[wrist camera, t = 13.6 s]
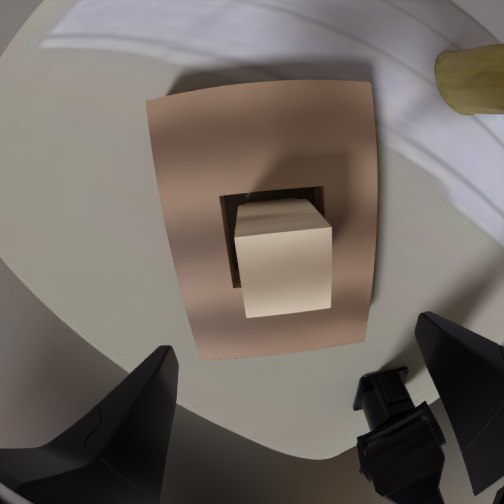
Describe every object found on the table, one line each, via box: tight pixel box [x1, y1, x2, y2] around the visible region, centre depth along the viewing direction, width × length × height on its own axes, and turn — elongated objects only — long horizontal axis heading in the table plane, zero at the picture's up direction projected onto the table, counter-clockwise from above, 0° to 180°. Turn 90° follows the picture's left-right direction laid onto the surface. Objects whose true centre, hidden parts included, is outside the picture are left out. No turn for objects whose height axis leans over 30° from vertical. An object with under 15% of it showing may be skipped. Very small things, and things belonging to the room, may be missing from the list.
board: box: [146, 80, 378, 360], centre depth 20 cm, size 20×14×3 cm
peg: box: [234, 198, 332, 318], centre depth 17 cm, size 4×4×8 cm
